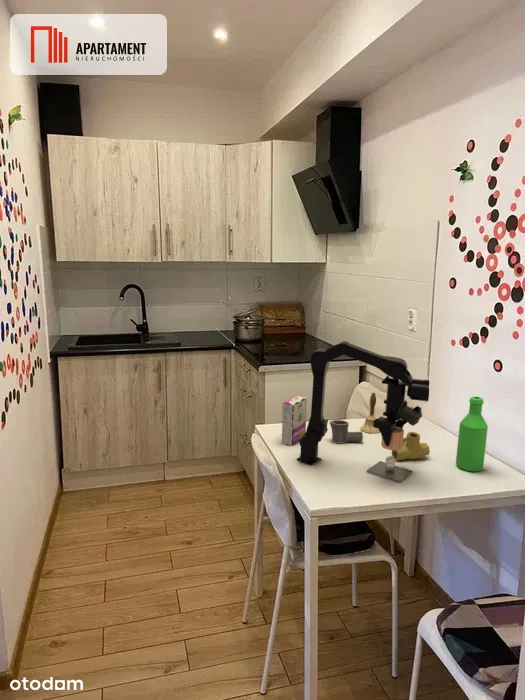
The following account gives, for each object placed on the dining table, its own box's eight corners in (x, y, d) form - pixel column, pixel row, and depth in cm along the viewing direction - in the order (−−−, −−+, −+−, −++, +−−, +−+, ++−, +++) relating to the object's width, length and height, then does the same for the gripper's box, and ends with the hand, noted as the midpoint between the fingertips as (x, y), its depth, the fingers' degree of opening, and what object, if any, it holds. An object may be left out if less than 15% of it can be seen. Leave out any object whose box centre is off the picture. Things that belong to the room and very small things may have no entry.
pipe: (363, 445, 196) (364, 425, 195) (329, 444, 196) (330, 424, 195) (360, 439, 202) (361, 419, 201) (327, 438, 202) (328, 419, 201)
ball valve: (429, 461, 184) (414, 447, 193) (432, 436, 181) (417, 423, 190) (397, 467, 181) (384, 452, 190) (400, 441, 178) (386, 427, 187)
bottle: (466, 473, 173) (473, 402, 168) (450, 463, 181) (457, 394, 176) (488, 471, 175) (496, 400, 170) (471, 461, 183) (479, 393, 179)
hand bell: (383, 429, 214) (386, 392, 211) (376, 435, 207) (379, 396, 204) (364, 425, 218) (367, 388, 215) (357, 430, 211) (359, 393, 208)
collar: (378, 446, 170) (380, 427, 169) (386, 441, 175) (388, 422, 174) (397, 451, 166) (398, 431, 165) (405, 446, 171) (406, 426, 170)
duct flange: (400, 483, 165) (401, 466, 164) (366, 472, 172) (367, 456, 171) (412, 472, 173) (414, 456, 171) (379, 463, 180) (381, 447, 179)
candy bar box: (294, 434, 205) (296, 395, 202) (305, 437, 202) (307, 397, 199) (280, 443, 196) (282, 401, 192) (292, 446, 193) (293, 404, 190)
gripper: (407, 409, 155) (403, 458, 158) (430, 396, 170) (426, 441, 173) (373, 401, 162) (370, 448, 165) (398, 390, 176) (394, 433, 179)
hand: (391, 443), depth 170 cm, fingers closed on collar, 6 cm apart
